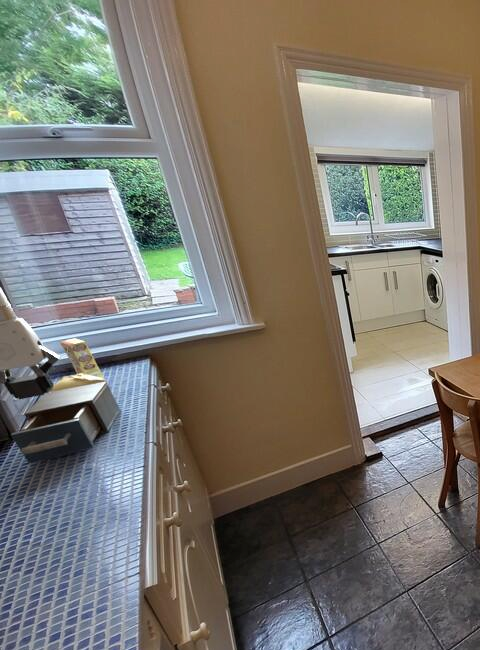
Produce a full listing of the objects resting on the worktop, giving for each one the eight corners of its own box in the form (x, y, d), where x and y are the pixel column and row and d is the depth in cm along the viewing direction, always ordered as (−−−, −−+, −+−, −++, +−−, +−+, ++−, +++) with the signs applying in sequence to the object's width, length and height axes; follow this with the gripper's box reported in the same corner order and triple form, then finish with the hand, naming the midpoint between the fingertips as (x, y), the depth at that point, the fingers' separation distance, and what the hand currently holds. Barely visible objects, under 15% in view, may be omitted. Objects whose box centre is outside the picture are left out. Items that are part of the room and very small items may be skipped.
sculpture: (123, 400, 128) (107, 368, 124) (80, 419, 118) (62, 385, 113) (94, 398, 130) (77, 367, 126) (49, 417, 120) (29, 383, 115)
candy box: (107, 382, 142) (86, 340, 136) (91, 387, 139) (69, 344, 133) (96, 378, 146) (75, 337, 140) (81, 383, 143) (58, 341, 137)
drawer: (87, 457, 97) (71, 429, 94) (20, 474, 92) (0, 445, 89) (107, 425, 112) (93, 399, 108) (49, 438, 107) (33, 411, 103)
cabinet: (108, 431, 110) (91, 400, 106) (44, 446, 104) (23, 414, 100) (120, 410, 122) (106, 381, 118) (63, 423, 116) (45, 393, 112)
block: (19, 399, 92) (9, 383, 91) (27, 393, 96) (17, 377, 94) (43, 394, 94) (34, 379, 92) (50, 388, 97) (41, 373, 96)
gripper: (-82, 328, 80) (-26, 410, 88) (35, 313, 88) (77, 390, 96) (-59, 319, 86) (-9, 397, 94) (49, 306, 94) (87, 379, 101)
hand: (34, 392), depth 95 cm, fingers closed on block, 4 cm apart
